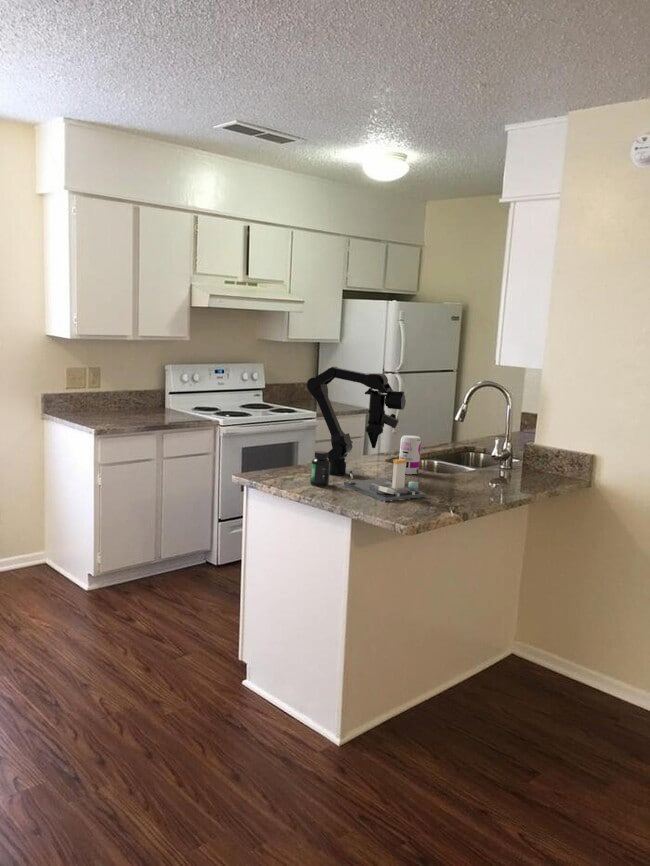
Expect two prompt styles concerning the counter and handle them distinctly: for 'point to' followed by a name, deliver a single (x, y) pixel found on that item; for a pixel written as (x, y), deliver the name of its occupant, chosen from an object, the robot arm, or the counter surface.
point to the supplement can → (410, 453)
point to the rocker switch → (386, 489)
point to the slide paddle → (399, 476)
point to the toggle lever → (351, 474)
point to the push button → (413, 485)
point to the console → (372, 488)
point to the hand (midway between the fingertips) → (373, 448)
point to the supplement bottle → (320, 469)
